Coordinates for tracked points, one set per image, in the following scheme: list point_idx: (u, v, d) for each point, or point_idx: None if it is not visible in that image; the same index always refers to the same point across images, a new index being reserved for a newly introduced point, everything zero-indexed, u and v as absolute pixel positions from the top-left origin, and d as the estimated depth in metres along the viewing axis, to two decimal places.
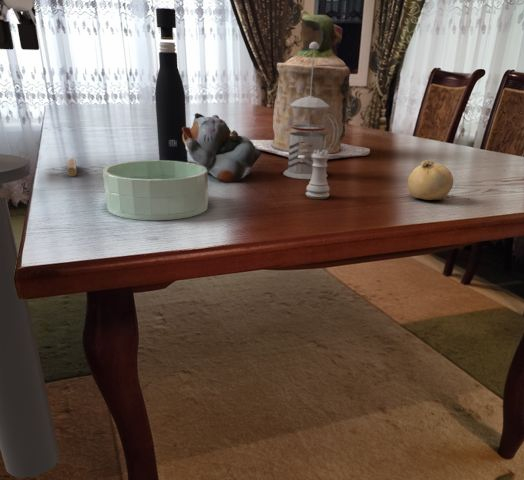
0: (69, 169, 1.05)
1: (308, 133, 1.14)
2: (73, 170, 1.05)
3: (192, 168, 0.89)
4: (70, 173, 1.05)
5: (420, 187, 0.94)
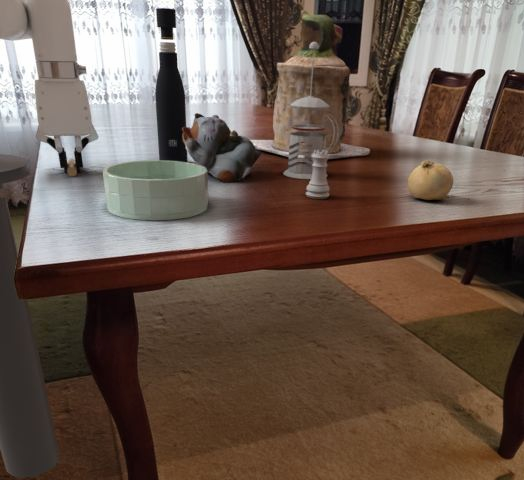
0: (68, 171, 1.05)
1: (308, 133, 1.14)
2: (72, 169, 1.05)
3: (192, 168, 0.89)
4: (72, 174, 1.05)
5: (420, 187, 0.94)
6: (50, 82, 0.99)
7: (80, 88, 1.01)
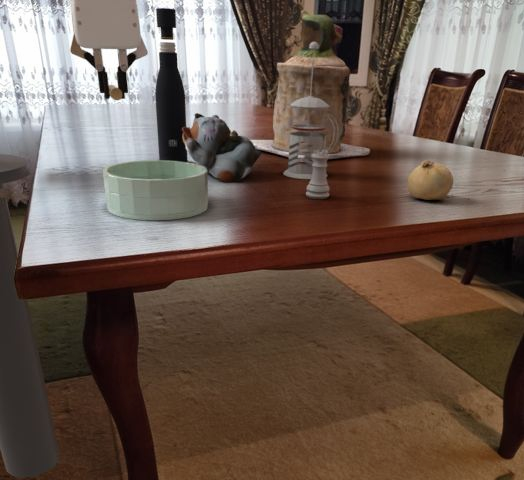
0: (112, 93, 0.83)
1: (308, 133, 1.14)
2: (116, 91, 0.83)
3: (192, 168, 0.89)
4: (116, 97, 0.84)
5: (420, 187, 0.94)
6: None
7: None
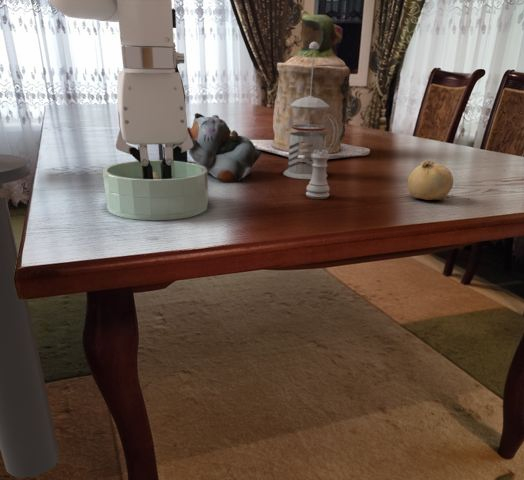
0: None
1: (308, 133, 1.14)
2: None
3: (192, 168, 0.89)
4: None
5: (420, 187, 0.94)
6: (140, 74, 0.75)
7: (177, 82, 0.77)
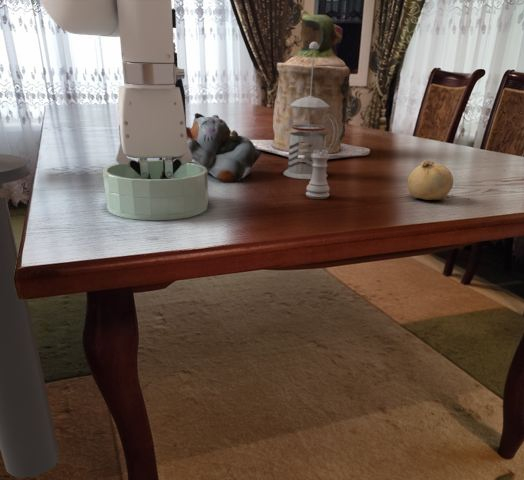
0: None
1: (308, 133, 1.14)
2: None
3: (192, 168, 0.89)
4: None
5: (420, 187, 0.94)
6: (141, 90, 0.76)
7: (177, 97, 0.79)
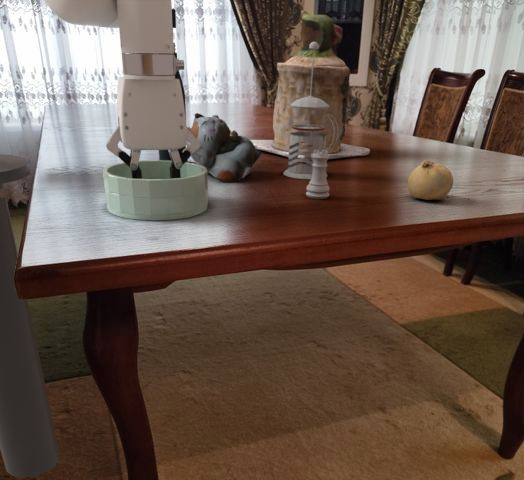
0: None
1: (308, 133, 1.14)
2: None
3: (192, 168, 0.89)
4: None
5: (420, 187, 0.94)
6: (140, 81, 0.76)
7: (176, 89, 0.78)
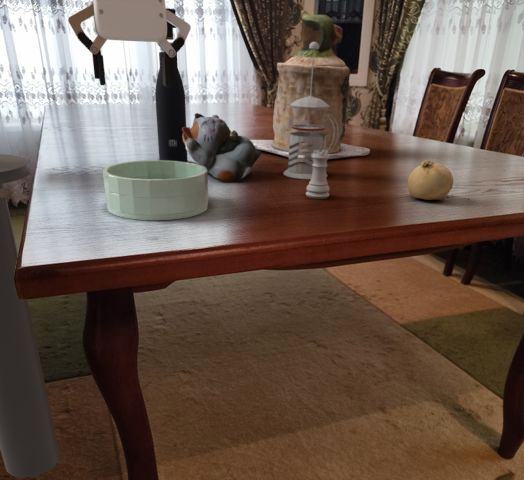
0: None
1: (308, 133, 1.14)
2: None
3: (192, 168, 0.89)
4: None
5: (420, 187, 0.94)
6: None
7: None
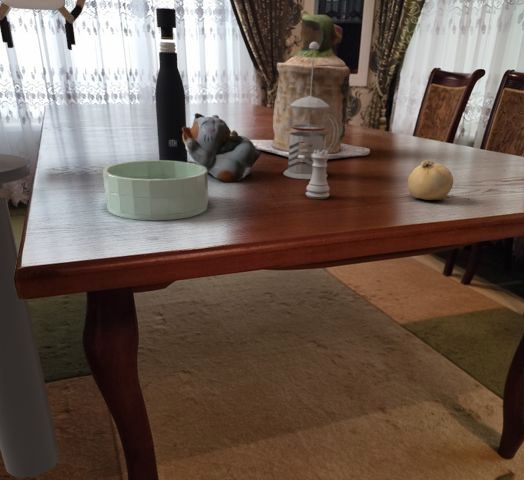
0: None
1: (308, 133, 1.14)
2: None
3: (192, 168, 0.89)
4: None
5: (420, 187, 0.94)
6: None
7: None
